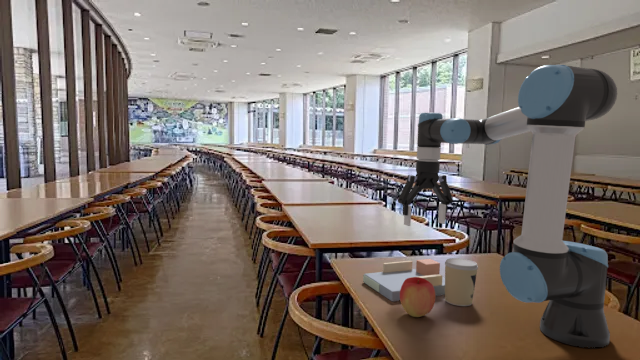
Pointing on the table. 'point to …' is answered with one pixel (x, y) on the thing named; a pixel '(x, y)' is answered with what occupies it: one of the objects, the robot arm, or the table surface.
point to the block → (427, 267)
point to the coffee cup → (460, 281)
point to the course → (399, 279)
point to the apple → (417, 296)
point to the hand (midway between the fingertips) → (424, 224)
